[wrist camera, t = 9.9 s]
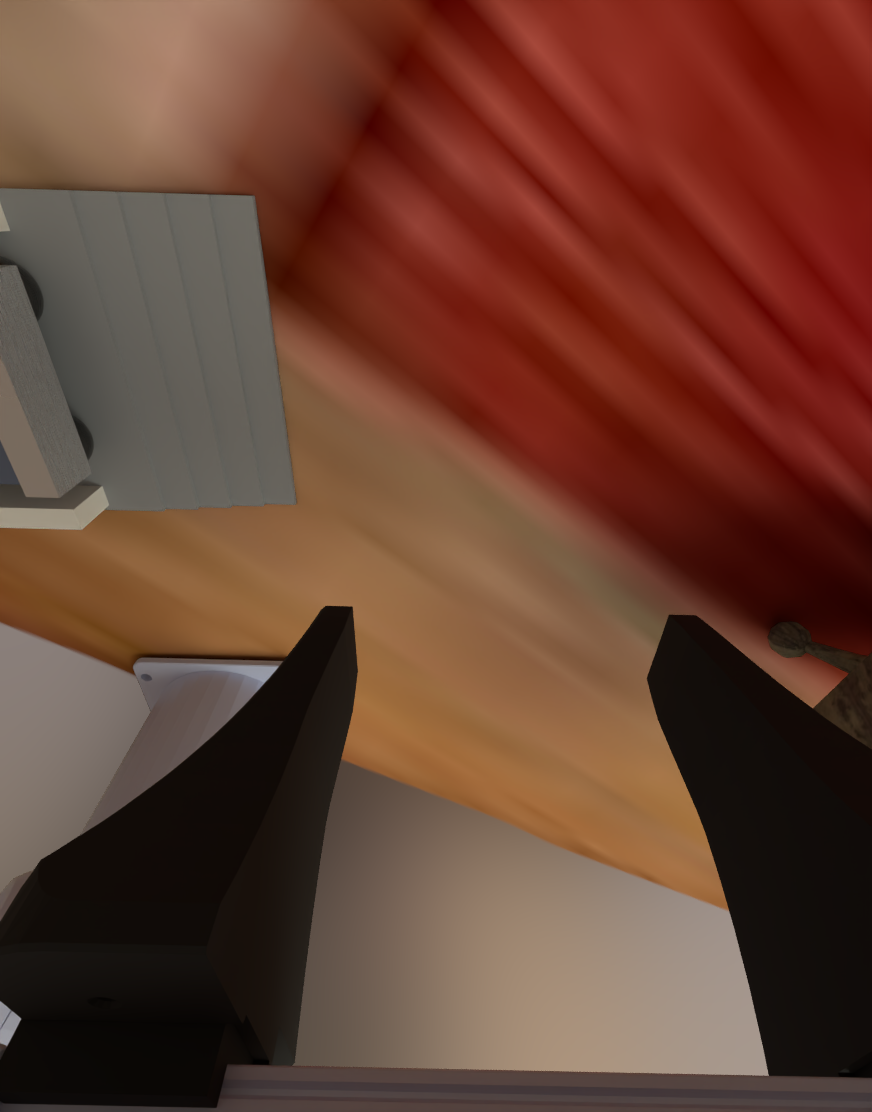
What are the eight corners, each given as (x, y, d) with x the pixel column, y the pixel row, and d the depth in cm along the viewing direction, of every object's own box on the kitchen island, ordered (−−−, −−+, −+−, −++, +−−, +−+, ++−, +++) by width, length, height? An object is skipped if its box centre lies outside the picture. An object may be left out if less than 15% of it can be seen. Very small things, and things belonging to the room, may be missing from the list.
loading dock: (296, 502, 21) (273, 550, 18) (-106, 491, 21) (-195, 538, 18) (254, 195, 15) (210, 193, 12) (-295, 179, 15) (-469, 173, 12)
